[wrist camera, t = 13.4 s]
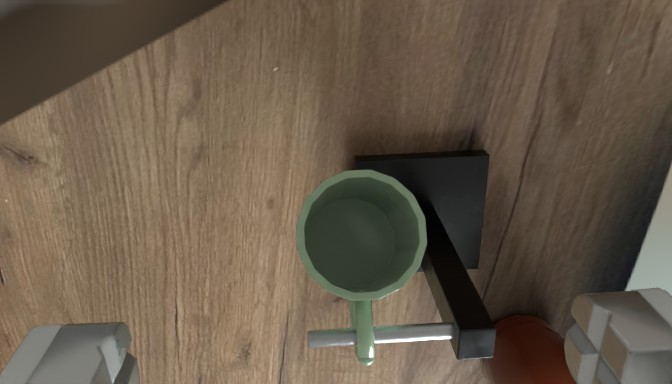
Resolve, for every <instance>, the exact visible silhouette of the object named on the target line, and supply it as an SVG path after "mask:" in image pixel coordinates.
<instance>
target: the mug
mask: <svg viewBox="0 0 672 384" xmlns="http://www.w3.org/2000/svg"><path fill="white" fill-rule="evenodd" d="M494 325H495V327H496V336H495V344H494V352H493V357H492V358H480V362H481V367H482V372H483V375H484V377H485V379H486V380H487V382H488V384H577V383H576V381H575V380H574V378H573V376H572V375H571V373H570V371H569V368H568V365H567V362H566V357H565V349H564V344H565V342H564V340H563V339H562V337H561V336H560V335H559V334H558V333H557V332H556V331H555V330H554V329H553V328H552V327H551V326H550V325H549V324H548V323H547V322H545V321H544V320H542V319H541V318H538V317H536V316H532V315H514V316H510V317H507V318H504V319H502V320H500V321H498V322H497V323H495V324H494Z"/></svg>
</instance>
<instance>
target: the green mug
mask: <svg viewBox="0 0 672 384" xmlns="http://www.w3.org/2000/svg"><path fill="white" fill-rule="evenodd" d="M296 231H297V250H298V253H299V255H300V257H301V259H302V261H303V264H304V266H305V268H306V270H307V272H308V274H309V275H310V276H311V277H312V278H313V279H314V280H315V281H316V282H318V283H319V284H320V285H321V286H322V287H323V288H324V289H325V290H326V291H328V292H329V293H332V294H335V295H338V296H341V297H343V298H346V299H349V309H350V326H351V328H356V332H357V345H352V348H353V350H354V352H355V354H356V356H357V358H358V360H359V362H360V363H361V364H362V365H365V366H369V365H371V364H372V363H373V362H374V360H375V345H374V330H373V314H372V300H377V299H381V298H383V297H385V296H387V295H389V294H391V293H393V292H395V291H397V290H399V289H401V288H402V287H404V285H405V284H406V283H407V282H408V281H409V280H410V278H411V277H412V276H413V275H414V274H415V273H416V271H417V270H418V269H419V267H420V265H421V261H422V258H423V255H424V252H425V249H426V246H427V233H426V221H425V216H424V214H423V212H422V210H421V208H420V206H419V204H418V202H417V200H416V198H415V196H414V195H413V194H412V193H411V192H410V191H409V190H408V189H407V188H405V187H404V186H403V185H402V184H401V183H400V182H399V181H397V180H396V179H395V178H393V177H390V176H388V175H385V174H382V173H379V172H376V171H373V170H350V171H344V172H341V173H339V174H337V175H335V176H333V177H331V178H329V179H327V180H324V181H323V182H321V183H320V184H319V186H318V187H317V188H316V189H315V190H314V191H313V192H312V193H311V194H310V195H309V197H308V198H307V199H306V200H305V202H304V204H303V207H302V210H301V213H300V216H299V218H298V221H297V225H296Z"/></svg>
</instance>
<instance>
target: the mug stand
mask: <svg viewBox="0 0 672 384" xmlns="http://www.w3.org/2000/svg"><path fill="white" fill-rule="evenodd" d="M488 166H489V154H488V153H487V152H486V151H485V150H475V151H453V152H432V153H410V154H389V155H367V156H355V170H373V171H376V172H379V173H382V174H385V175H388V176H390V177H393V178H395V179H396V180H397V181H399V182H400V183H401V184H402V185H403V186H404V187H405V188H407V189H408V190H409V191H410V192H411V193H412V194H413V195H414V196H415V198H416V200H417V202H418V204H419V206H420V208H421V210H422V212H423V214H424V216H425V221H426V233H427V246H426V249H425V252H424V255H423V258H422V261H421V265H420V267H419V269H418V270H417V271H416V272H424V274H425V276H426V279H427V281H428V284H429V287H430V289H431V292H432V295H433V297H434V300H435V302H436V305H437V308H438V310H439V313H440V315H441V318H442V321H443V323H427V324H411V325H394V326H378V327H373V330H374V344H377V343H393V342H408V341H424V340H440V339H450V342H451V344H452V347H453V350H454V352H455V355H456V357H457V359H458V360H463V359H478V358H492V357H493V352H494V344H495V336H496V327H495V325H494V323H493V321H492V320H491V318H490V316H489V314H488V312H487V310H486V308H485V306H484V304H483V302H482V300H481V298H480V296H479V294H478V292H477V290H476V288H475V286H474V284H473V282H472V281H471V279H470V277H469V275H468V273H467V271H466V269H478V264H479V254H480V244H481V235H482V225H483V215H484V205H485V195H486V185H487V176H488ZM345 345H357V332H356V328H346V329H330V330H314V331H308V346H309V348H314V347H329V346H345Z"/></svg>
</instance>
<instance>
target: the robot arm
mask: <svg viewBox="0 0 672 384" xmlns="http://www.w3.org/2000/svg"><path fill="white" fill-rule="evenodd" d="M570 313H571V314H572V316H573V317H574V318H575V320H576V321H577V322H576V323H575V324H574V325H573V326H572V327H571V328H570V329H569V330H568V331H567V332H566V338H565V344H564V349H565V357H566V362H567V365H568V368H569V371H570V373H571V375H572V376H573V378H574V380H575V381H576V383H577V384H672V296H671V295H670V294H669V293H668V292H667V291H665V290H662V289H660V288H651V289H639V290H631V291H624V292H608V293H593V294H578V295H577V296H576V297H575V299H574V301H573V303H572V308H571V312H570ZM131 341H132V339H131V335H130V332H129V328H128V325H126V324H125V323H124V322H108V323H83V324H66V325H44V326H37V327H35V328H33V329H31V330H30V331H29V333H28V334H27V336H26V337H25V338H24V340H23V341H22V343H21V344H20V346H19V347H18V349H17V350H16V352H15V353H14V355H13V356H12V358H11V359H10V361H9V362H8V364H7V365H6V367H5V368H4V370H3V371H2V373H1V374H0V384H140V376H139V368H138V363H137V359H136V358H134V357H133V356H132V355H131V354H129V353H128V352H127V351H128V349H129V346H130V343H131Z"/></svg>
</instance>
